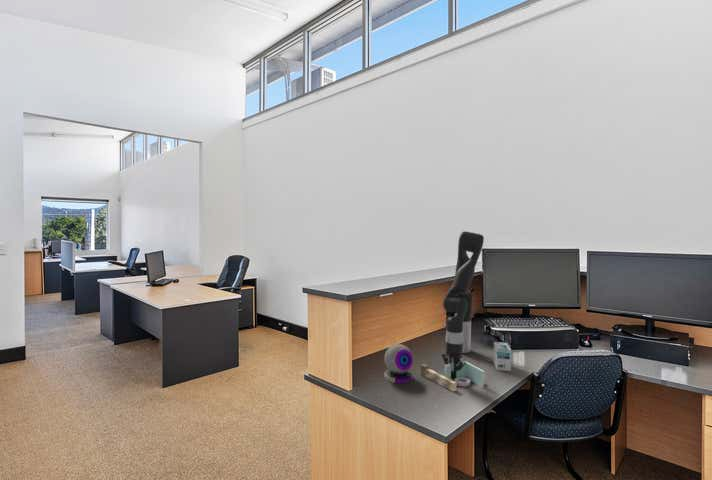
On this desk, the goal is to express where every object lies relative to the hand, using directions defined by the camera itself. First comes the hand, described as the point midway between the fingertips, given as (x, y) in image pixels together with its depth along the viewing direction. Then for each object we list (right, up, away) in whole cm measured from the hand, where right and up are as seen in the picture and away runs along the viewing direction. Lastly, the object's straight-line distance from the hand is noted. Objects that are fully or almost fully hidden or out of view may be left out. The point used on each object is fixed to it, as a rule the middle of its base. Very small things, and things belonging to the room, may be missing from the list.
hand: (452, 378), depth 168 cm
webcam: (-24, -1, +2) cm, 25 cm away
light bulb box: (+28, 0, +16) cm, 32 cm away
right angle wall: (+4, -2, -4) cm, 6 cm away
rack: (-1, -1, +2) cm, 2 cm away
